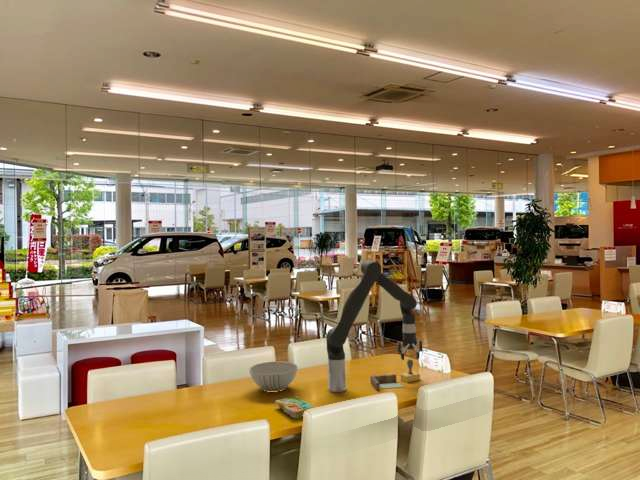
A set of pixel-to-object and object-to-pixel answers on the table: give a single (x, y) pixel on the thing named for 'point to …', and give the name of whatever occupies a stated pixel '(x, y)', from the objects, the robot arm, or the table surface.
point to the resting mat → (390, 385)
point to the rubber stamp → (410, 373)
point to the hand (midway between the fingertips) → (410, 359)
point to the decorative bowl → (273, 375)
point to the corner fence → (382, 380)
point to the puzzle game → (293, 406)
